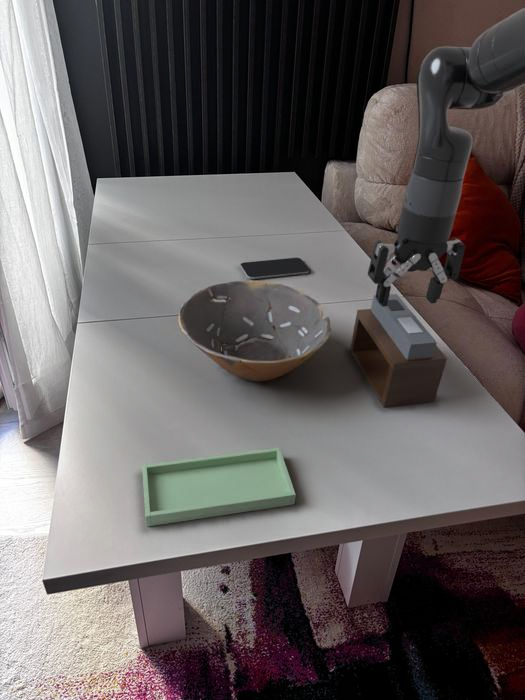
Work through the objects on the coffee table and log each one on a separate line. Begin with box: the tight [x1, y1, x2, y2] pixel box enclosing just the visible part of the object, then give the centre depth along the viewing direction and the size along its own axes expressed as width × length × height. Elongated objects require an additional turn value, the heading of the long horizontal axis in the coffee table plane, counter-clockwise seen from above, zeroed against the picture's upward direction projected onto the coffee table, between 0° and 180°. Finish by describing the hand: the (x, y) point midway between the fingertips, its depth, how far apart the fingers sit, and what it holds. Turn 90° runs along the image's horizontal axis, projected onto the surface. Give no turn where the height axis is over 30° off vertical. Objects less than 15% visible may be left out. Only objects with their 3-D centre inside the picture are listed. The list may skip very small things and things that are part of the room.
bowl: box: [178, 280, 332, 382], centre depth 95 cm, size 25×25×10 cm
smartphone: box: [240, 257, 311, 280], centre depth 127 cm, size 7×1×15 cm
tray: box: [141, 447, 297, 527], centre depth 74 cm, size 19×9×2 cm, turn 103°
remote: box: [370, 293, 438, 360], centre depth 91 cm, size 15×4×3 cm, turn 13°
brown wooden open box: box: [349, 308, 448, 408], centre depth 94 cm, size 16×9×9 cm, turn 13°
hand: (406, 302), depth 88 cm, fingers open, 8 cm apart
